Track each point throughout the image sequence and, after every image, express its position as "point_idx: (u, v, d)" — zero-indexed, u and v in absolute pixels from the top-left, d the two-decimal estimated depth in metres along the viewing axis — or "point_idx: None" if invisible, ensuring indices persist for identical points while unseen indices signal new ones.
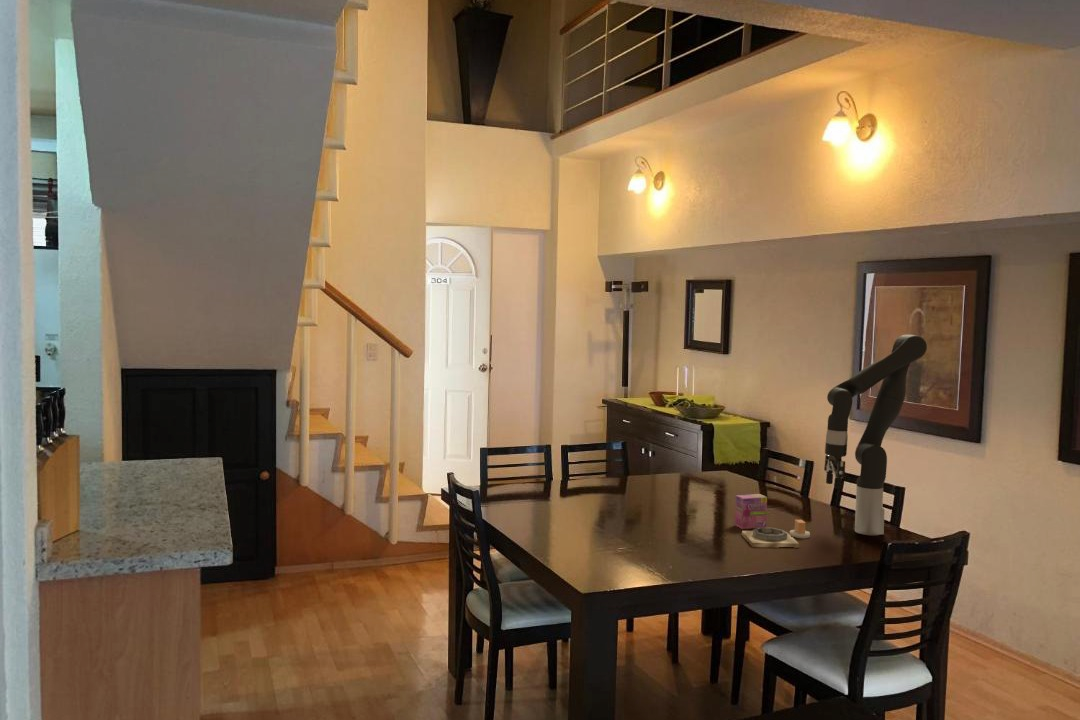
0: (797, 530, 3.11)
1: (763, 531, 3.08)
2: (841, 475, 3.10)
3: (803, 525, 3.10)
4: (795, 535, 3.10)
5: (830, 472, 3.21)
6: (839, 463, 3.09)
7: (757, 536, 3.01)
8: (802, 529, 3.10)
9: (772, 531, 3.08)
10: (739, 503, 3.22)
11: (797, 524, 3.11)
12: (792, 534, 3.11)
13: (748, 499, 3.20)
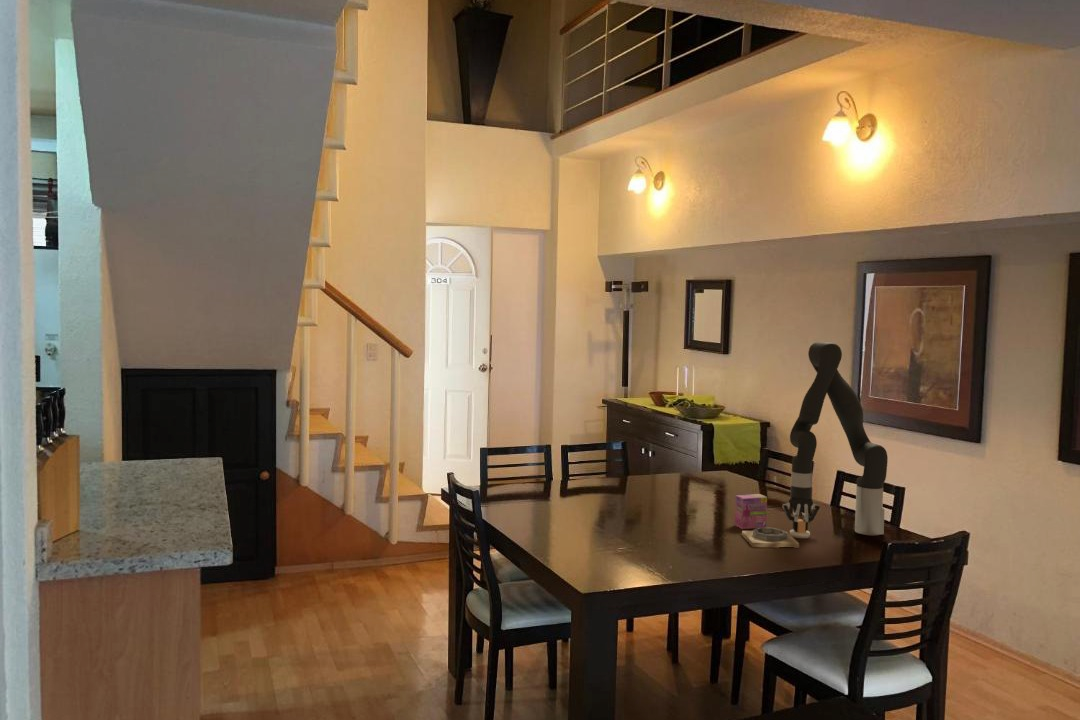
0: (797, 530, 3.11)
1: (763, 531, 3.08)
2: None
3: (803, 525, 3.10)
4: (795, 535, 3.10)
5: None
6: (818, 508, 3.11)
7: (757, 536, 3.01)
8: (802, 529, 3.10)
9: (772, 531, 3.08)
10: (739, 503, 3.22)
11: None
12: (792, 534, 3.11)
13: (748, 499, 3.20)
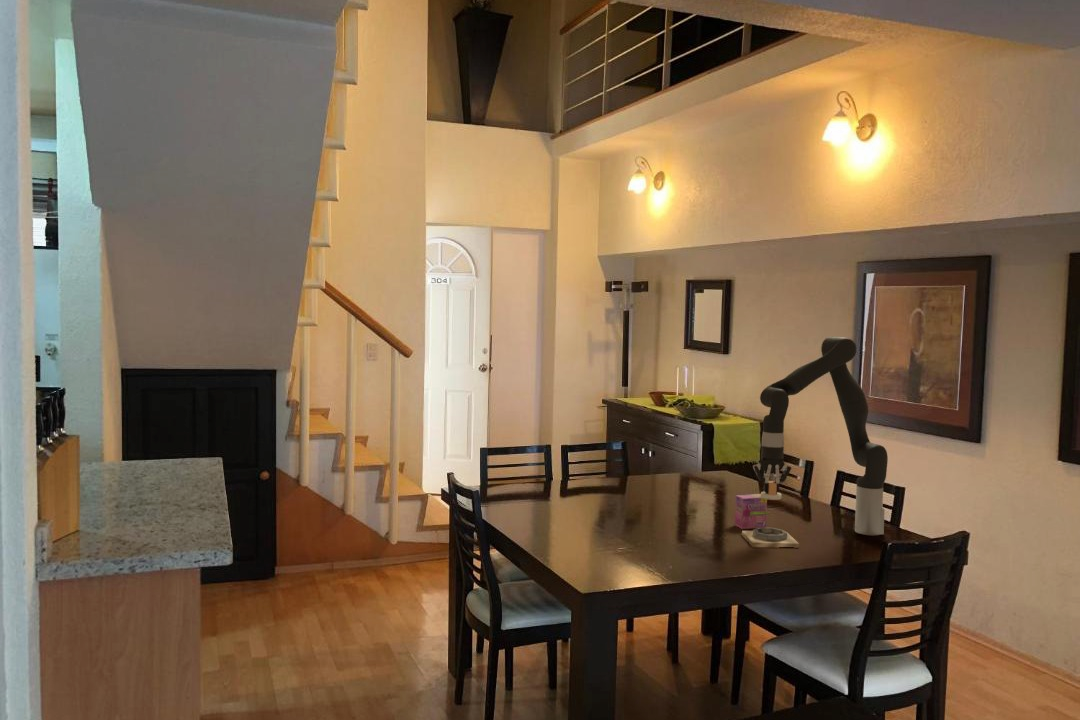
0: (768, 491, 3.02)
1: (763, 531, 3.08)
2: None
3: (774, 486, 3.01)
4: (766, 496, 3.01)
5: None
6: None
7: (757, 536, 3.01)
8: (773, 490, 3.01)
9: (772, 531, 3.08)
10: (739, 503, 3.22)
11: None
12: (763, 495, 3.02)
13: (748, 499, 3.20)
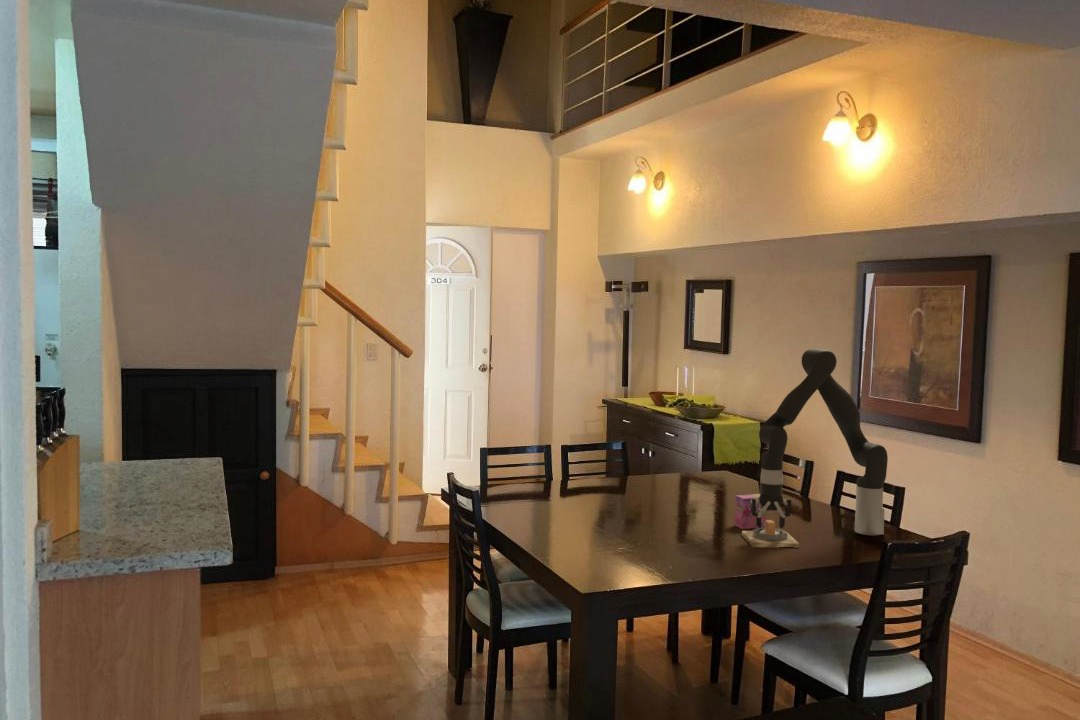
0: (767, 531, 3.03)
1: None
2: None
3: (773, 525, 3.02)
4: None
5: None
6: (790, 501, 3.02)
7: (757, 536, 3.01)
8: (772, 530, 3.02)
9: None
10: (739, 503, 3.22)
11: (767, 524, 3.03)
12: None
13: (748, 499, 3.20)
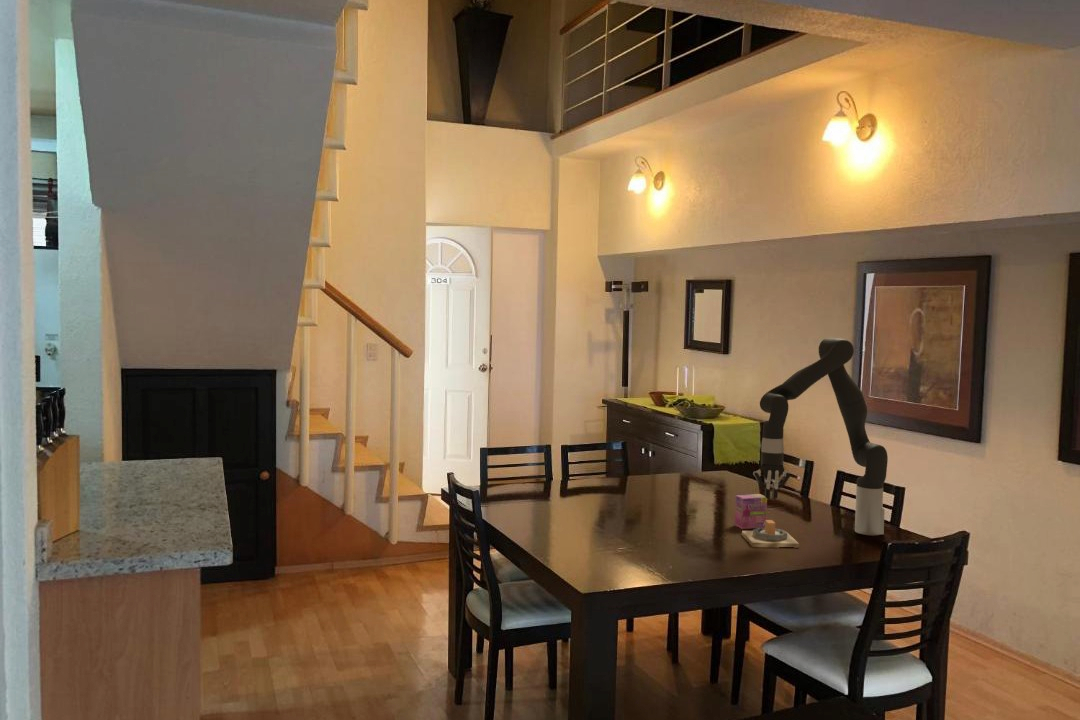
0: (767, 531, 3.03)
1: None
2: None
3: (773, 526, 3.02)
4: None
5: None
6: (789, 475, 3.02)
7: (757, 536, 3.01)
8: (772, 530, 3.02)
9: None
10: (739, 503, 3.22)
11: (767, 524, 3.03)
12: None
13: (748, 499, 3.20)
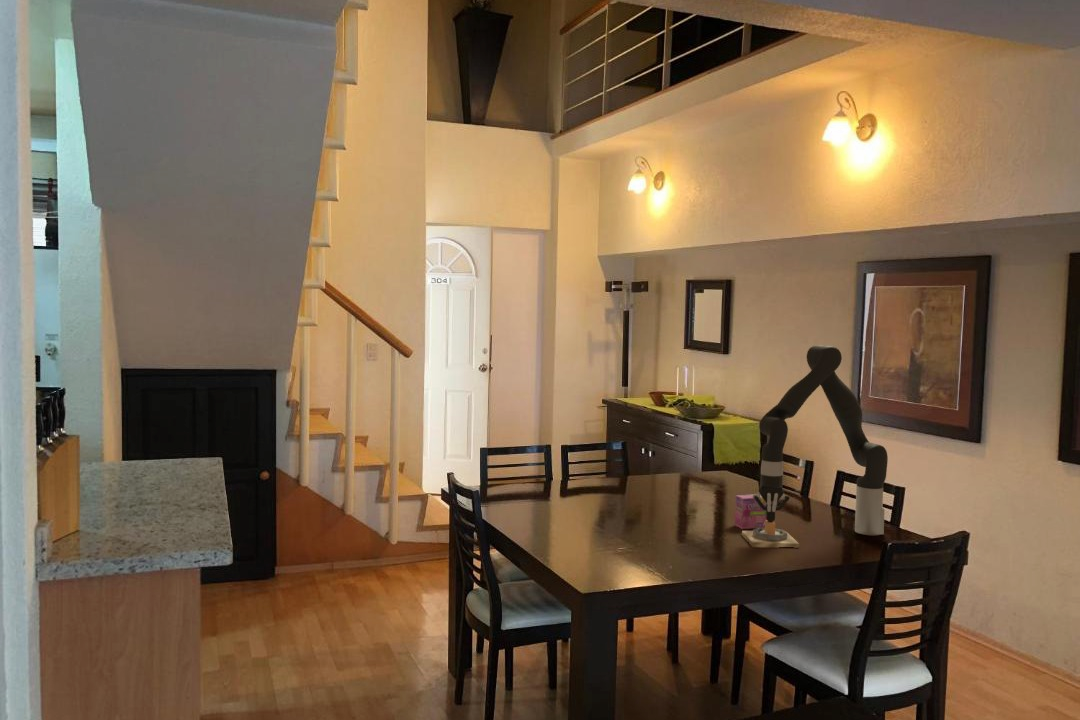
0: (767, 531, 3.03)
1: None
2: None
3: (773, 526, 3.02)
4: None
5: None
6: (788, 499, 3.02)
7: (757, 536, 3.01)
8: (772, 530, 3.02)
9: None
10: (739, 503, 3.22)
11: (767, 524, 3.03)
12: None
13: (748, 499, 3.20)
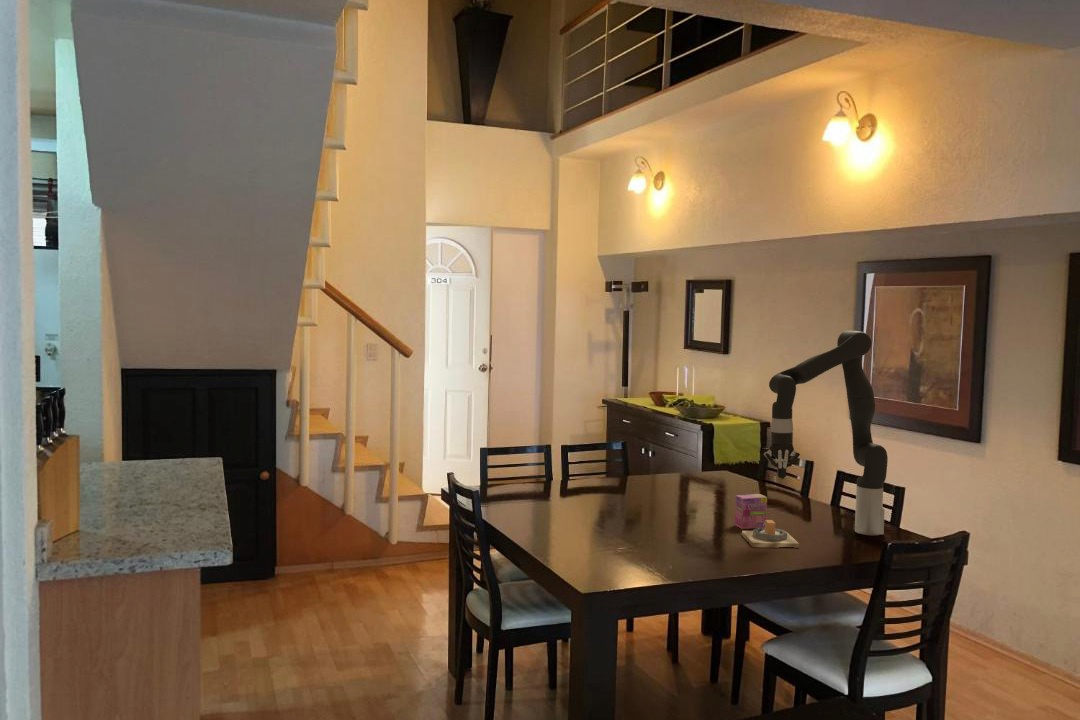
0: (767, 531, 3.03)
1: None
2: None
3: (773, 525, 3.02)
4: None
5: None
6: (798, 455, 3.08)
7: (757, 536, 3.01)
8: (772, 530, 3.02)
9: None
10: (739, 503, 3.22)
11: (767, 524, 3.03)
12: None
13: (748, 499, 3.20)
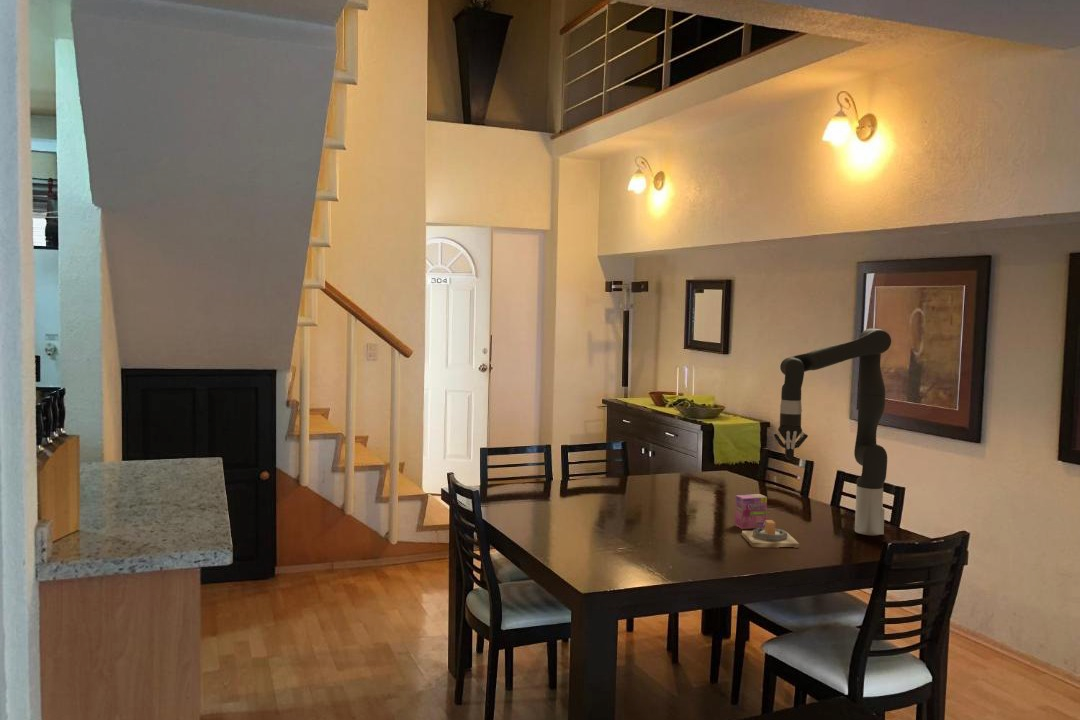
0: (767, 531, 3.03)
1: None
2: None
3: (773, 526, 3.02)
4: None
5: None
6: (806, 437, 3.15)
7: (757, 536, 3.01)
8: (772, 530, 3.02)
9: None
10: (739, 503, 3.22)
11: (767, 524, 3.03)
12: None
13: (748, 499, 3.20)
